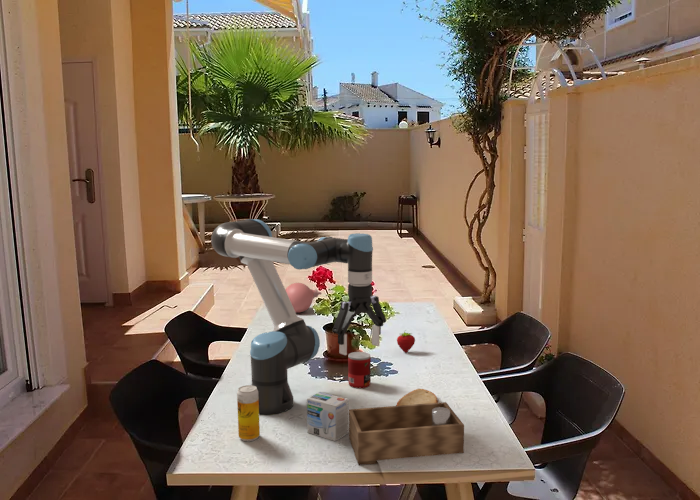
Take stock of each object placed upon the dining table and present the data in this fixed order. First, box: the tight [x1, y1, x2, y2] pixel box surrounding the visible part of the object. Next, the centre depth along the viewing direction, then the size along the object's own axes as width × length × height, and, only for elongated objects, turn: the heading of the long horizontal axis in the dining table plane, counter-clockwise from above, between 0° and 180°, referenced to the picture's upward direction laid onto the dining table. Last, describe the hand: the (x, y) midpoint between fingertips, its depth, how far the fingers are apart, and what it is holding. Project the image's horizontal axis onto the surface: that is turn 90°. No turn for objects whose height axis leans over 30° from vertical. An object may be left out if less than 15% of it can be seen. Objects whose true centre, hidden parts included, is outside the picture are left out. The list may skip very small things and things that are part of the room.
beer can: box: [236, 384, 260, 442], centre depth 185 cm, size 6×6×15 cm
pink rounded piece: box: [285, 282, 322, 314], centre depth 329 cm, size 15×20×15 cm
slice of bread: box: [395, 388, 439, 406], centre depth 208 cm, size 18×18×4 cm
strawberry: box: [396, 331, 416, 353], centre depth 262 cm, size 6×8×10 cm
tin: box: [432, 407, 450, 426], centre depth 180 cm, size 5×5×9 cm
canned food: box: [347, 351, 372, 389], centre depth 227 cm, size 8×8×11 cm
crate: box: [348, 401, 465, 466], centre depth 179 cm, size 29×16×9 cm, turn 99°
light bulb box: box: [306, 391, 349, 442], centre depth 188 cm, size 11×7×11 cm, turn 56°
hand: (359, 349), depth 202 cm, fingers open, 13 cm apart
